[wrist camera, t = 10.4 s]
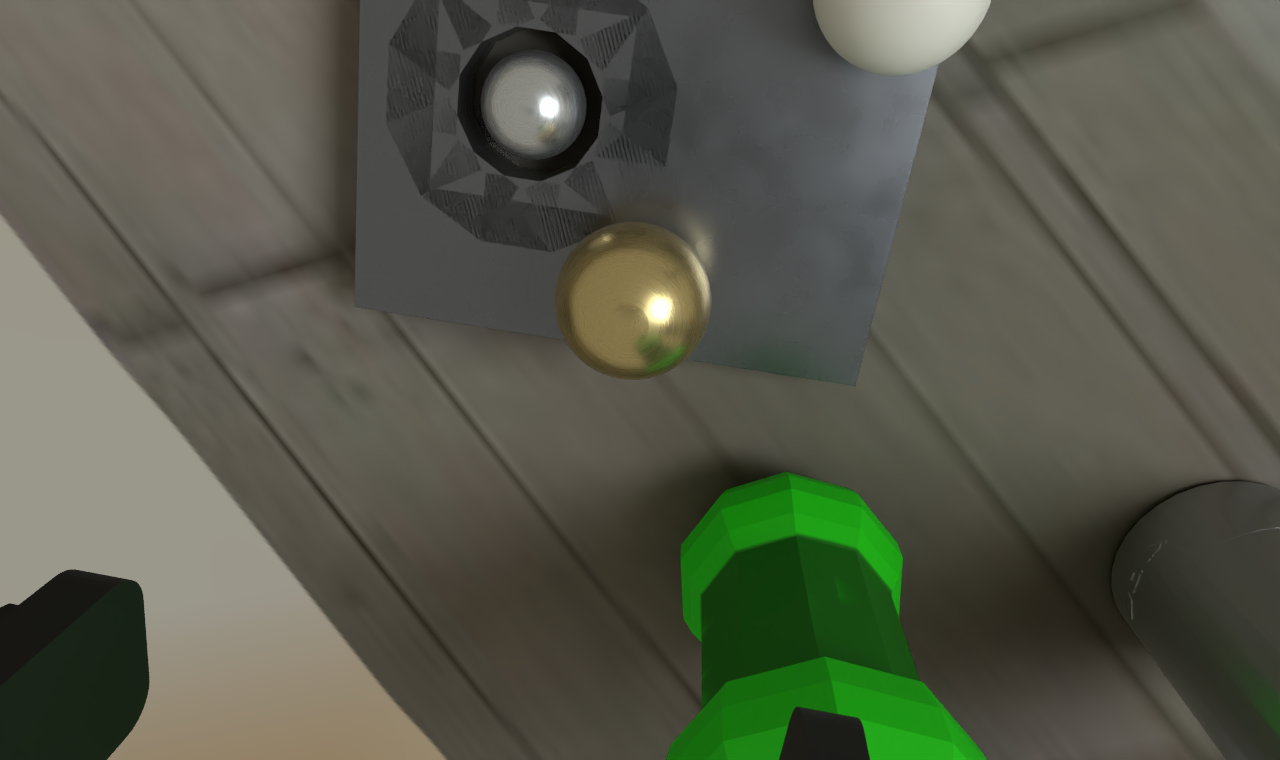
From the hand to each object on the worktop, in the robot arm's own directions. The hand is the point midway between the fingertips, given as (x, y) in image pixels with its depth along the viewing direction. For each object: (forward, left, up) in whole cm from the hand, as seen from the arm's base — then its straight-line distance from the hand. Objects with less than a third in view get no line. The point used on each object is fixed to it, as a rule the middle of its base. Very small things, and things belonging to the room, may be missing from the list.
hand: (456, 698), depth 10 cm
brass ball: (-1, +2, -22) cm, 22 cm away
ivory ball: (-8, -10, -23) cm, 26 cm away
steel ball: (+4, -4, -26) cm, 26 cm away
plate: (0, -4, -28) cm, 28 cm away
